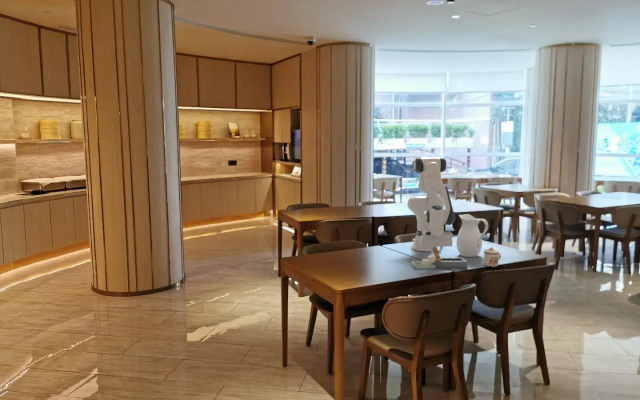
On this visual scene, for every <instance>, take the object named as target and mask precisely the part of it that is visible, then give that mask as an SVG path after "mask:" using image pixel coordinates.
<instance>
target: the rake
mask: <svg viewBox="0 0 640 400" xmlns="http://www.w3.org/2000/svg"><path fill="white" fill-rule="evenodd" d="M432 249H433V251H434V253H433V255H435V256H436V261H442V259H441V258H442V257H441V256H440V253H438V250H439V249H438V247H433V248H432Z"/></svg>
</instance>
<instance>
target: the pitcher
mask: <svg viewBox="0 0 640 400" xmlns="http://www.w3.org/2000/svg"><path fill="white" fill-rule="evenodd" d="M458 216H459V218H460V219H461V227H460V228H459V231H458V234H457V236H456V247H457V248H456V249H457V252H458V253H459V255H460V257H461V256H462V257H463V258H476V257H478V256H479V254H480V253H481V252H482V251H481V250H482V248H483V237H484V236H485V234H486V233H487V232H488V229H489V223H488V220H486V219H485V218H477V217H475V216H473V215H471V214H469V213H465V214H458ZM481 222H483V223H484V230H483V232H480V231H481V230H480V229H479V223H481ZM481 233H482V234H481Z"/></svg>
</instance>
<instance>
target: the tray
mask: <svg viewBox="0 0 640 400" xmlns="http://www.w3.org/2000/svg"><path fill="white" fill-rule="evenodd" d="M411 266H412V268H413V269H414V270H431V269H432V270H435V269H434V268H436V265H432V263H431V264H430V265H422V260H411Z"/></svg>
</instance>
